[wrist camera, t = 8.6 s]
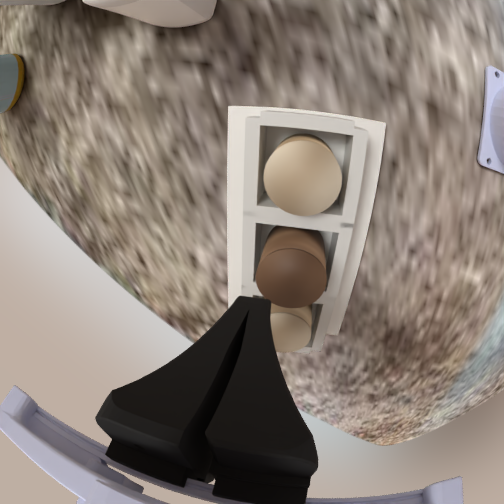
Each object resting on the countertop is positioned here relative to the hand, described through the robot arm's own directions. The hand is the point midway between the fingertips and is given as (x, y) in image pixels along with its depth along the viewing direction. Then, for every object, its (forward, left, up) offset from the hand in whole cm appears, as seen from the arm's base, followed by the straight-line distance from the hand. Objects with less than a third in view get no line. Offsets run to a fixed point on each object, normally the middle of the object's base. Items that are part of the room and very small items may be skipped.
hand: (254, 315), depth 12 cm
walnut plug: (-1, +1, -8) cm, 8 cm away
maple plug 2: (-1, +6, -9) cm, 11 cm away
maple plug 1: (-1, -5, -9) cm, 10 cm away
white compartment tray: (-1, +1, -10) cm, 10 cm away
